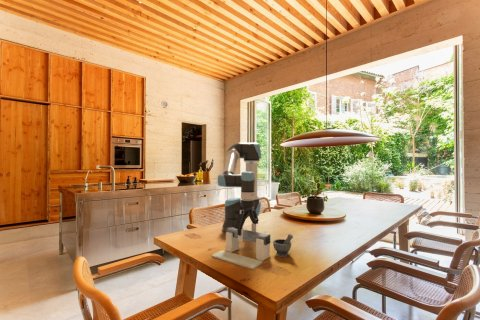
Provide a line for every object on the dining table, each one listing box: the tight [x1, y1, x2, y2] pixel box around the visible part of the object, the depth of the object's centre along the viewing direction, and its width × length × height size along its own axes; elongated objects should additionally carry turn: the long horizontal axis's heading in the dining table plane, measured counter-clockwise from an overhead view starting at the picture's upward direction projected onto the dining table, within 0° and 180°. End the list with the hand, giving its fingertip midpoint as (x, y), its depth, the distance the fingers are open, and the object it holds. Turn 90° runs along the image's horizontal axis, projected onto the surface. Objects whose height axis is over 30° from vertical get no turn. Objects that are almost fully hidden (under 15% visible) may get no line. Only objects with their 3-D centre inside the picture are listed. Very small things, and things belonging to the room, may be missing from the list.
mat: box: [211, 249, 263, 270], centre depth 125 cm, size 26×9×1 cm, turn 55°
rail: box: [225, 227, 271, 245], centre depth 134 cm, size 26×5×4 cm, turn 55°
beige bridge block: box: [225, 232, 240, 253], centre depth 139 cm, size 4×8×10 cm, turn 145°
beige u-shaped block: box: [255, 239, 271, 262], centre depth 128 cm, size 4×8×10 cm, turn 145°
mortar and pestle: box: [272, 233, 294, 258], centre depth 132 cm, size 11×9×12 cm
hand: (247, 238), depth 134 cm, fingers open, 13 cm apart
